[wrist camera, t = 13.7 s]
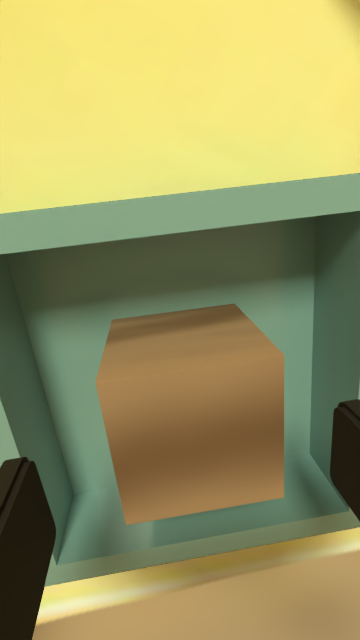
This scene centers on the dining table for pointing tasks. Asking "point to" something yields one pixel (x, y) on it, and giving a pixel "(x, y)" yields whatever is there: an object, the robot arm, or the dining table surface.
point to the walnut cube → (192, 412)
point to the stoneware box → (168, 296)
